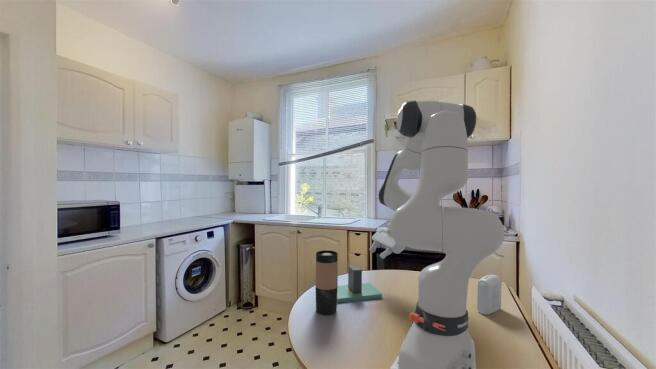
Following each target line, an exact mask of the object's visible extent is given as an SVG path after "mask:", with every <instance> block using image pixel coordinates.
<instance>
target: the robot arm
mask: <svg viewBox="0 0 656 369" xmlns="http://www.w3.org/2000/svg"><path fill="white" fill-rule="evenodd" d="M476 125H477V114H476V111H475V109H474V107H472V106H470V105H467V104H463V103H459V104H458V103H452V102H444V101H439V100H421V101H420V100H419V101H416V100H410V101H405V102H404V103H403V104H402V105H401V106H400V108H399V110H398V112H397V115H396V128H397V130H398V132H399V133H400V135H402V136H404V137H406V138H405V142H404V146H403V148H402V150H399V151H398V152H396V153H395V154H394V156H393V158H392V160H391V163H390V166H389V168H388V170H387V173H386V176H385V179H384V181H383V184H382V185H381V187H380V189H379V191H378V194H377V195H378V200H379V203H380V204H381V205H383V206H385V207H386V208H389V209H390V210H392V211H393V213H392V214H391V217H390V221H389V222H388V223H387V225H386V226H382V227H381V228H379V229H378V230H377V231H376V232H375V233H374V234H373V235H372V237H371V240H372V241H373V242H372V244H371V247H370V248H369V251H370V252H371V253H375V252H376V249H377V247H379V246H380V247H382V248H384V249H385V250H384V251H383V252H380V254H379V257H380V258H381V259H382V260H384V259H385V258H386V257H388V256H389V255H391V254H393V253H394V254H397V255H398V254H400V253H402V252H403V251H404V250H405V249H406V248H409V249H414V250H422V251H429V252H431V251H432V252H442V253H444V254H445V257H444V258H443V259H442V260H441V261H438V262H435V263H432V264H429V265H427V266H426V267H423V269H422V270H421V271H420V273H419V275H418V280H417V281H418V282H417V284H418V285H417V288H418V289H417V291H418V292H417V299H418V301H417V302H416V305H415V308H414V312H413V311H411V312H410V315H409V317H408V318H409V322H410V321H411V322H412V324H411V326H410V329H409V330H408V332H407V334H406V336H405V338H404V340H403V343H402V344H401V347H400V349H399V352H398V353H399V354H398V355H397V357H396V359H395V360H394V362H393V363H392V364H391V366H390V368H389V369H477V368H476V348H475V341H474V339H473V338H472V336H471V335H470V333H469V330H468V329H469V321H470V318H469V311H468V310H467V302H468V301H467V300H468V299H467V298H468V290H469V283H470V279H471V276H472V273H473V272H474V270H475V269H476V267H477V266H478V265H479V264H480V263H481V262H482V261H483V260H485V259H486V258H487V257H489V256H491V255H493V254H494V253H496V252H497V251H498V250H499V249H500V248H501V246H502V245H503V242H504V239H505V227H504V226H503V222H502V220H501V219H500V217H498V215H497V214H496V213H494V212H492V211H489V210H488V211H487V210H483V209H478V208H473V207H458V206H457V207H456V206H455V207H453V206H442V205H440V203H441V201H442V199H443V198H444V197H446V196H449V195H451V194H454V193H456V192H458V191H460V190H461V189H462V188H464V187H465V185H466V184H467V182H468V179H469V143H468V138H470V137H471V136H472V135H473V133H474V132H475V129H476ZM404 170H407V171H420V172H419V173H420V174H419V179H418V183H417V186H416V188H415V191H414V192H413V193H411V192H409V191H407V190H406V189H404V188H402V187H401V185H400V184H399V180H400V178H401V175H402V173H403V171H404Z"/></svg>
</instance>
